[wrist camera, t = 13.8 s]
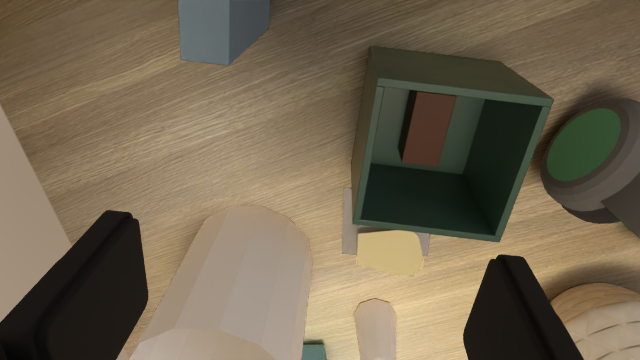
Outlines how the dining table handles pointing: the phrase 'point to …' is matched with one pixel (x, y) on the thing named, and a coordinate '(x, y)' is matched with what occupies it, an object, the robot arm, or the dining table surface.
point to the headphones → (597, 164)
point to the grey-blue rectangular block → (220, 28)
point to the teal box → (313, 352)
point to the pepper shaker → (376, 330)
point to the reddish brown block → (425, 127)
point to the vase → (601, 320)
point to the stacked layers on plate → (383, 245)
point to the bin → (459, 147)
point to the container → (235, 292)
